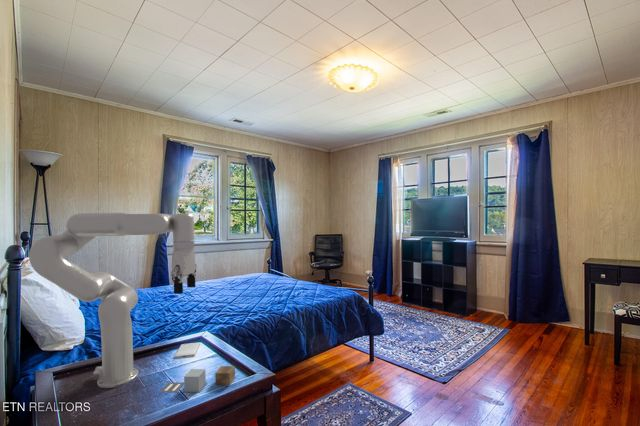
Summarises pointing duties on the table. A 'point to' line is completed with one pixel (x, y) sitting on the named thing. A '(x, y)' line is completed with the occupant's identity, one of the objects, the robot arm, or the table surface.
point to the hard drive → (187, 350)
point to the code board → (176, 388)
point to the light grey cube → (194, 380)
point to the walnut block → (225, 375)
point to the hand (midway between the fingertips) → (185, 290)
